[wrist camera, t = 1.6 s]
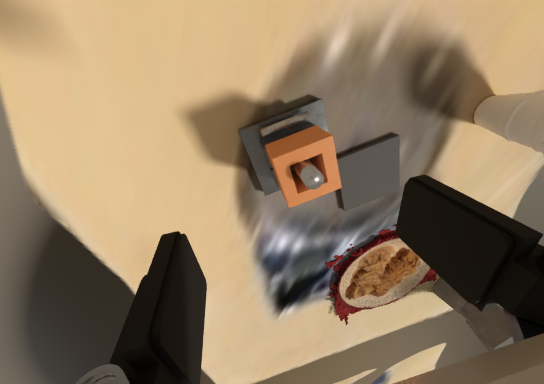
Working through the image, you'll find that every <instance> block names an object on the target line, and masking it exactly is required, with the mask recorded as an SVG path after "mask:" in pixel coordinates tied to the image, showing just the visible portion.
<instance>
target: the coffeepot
mask: <svg viewBox="0 0 544 384" xmlns="http://www.w3.org/2000/svg"><path fill="white" fill-rule="evenodd" d="M434 294H436V295H437V296H438V297H439V298H441V299H442V300H443V301H444V302H446V303H447V304H448V305H449V306H450V307H452V308H453V309H454V310H455V311H457V312H458V313H460V314H462V315H463V316H464V317H465V318H466V319H467V320H466V322H467V324H468V325H469V326H470V328H471V329H472V330H473V332H474V333H475V334H476V335H477V337H478V338H479V339H480V341H481V342H482V343H483V344H484V346H485V347H486V349H487V350H488V351H492V350H495V349H498V348H501V347H504V346H507V345H510V344H513V343H514V341H513V338H512V335H511V332H510V329H509V326H508V323H507V320H506V317H505V314H504V310H503V309H502V308H500V307H499V306H498V305H496V307H495V308H493V309H490V310H486V311H483V312H481V311H480V310H478V309H477V308H476V307H475V306H474V305H473V304H471V303H469V302H467V301H466V300H464V299H463V298H462V297H461V296H460V295H459V294H458V293H457V292H456V291H455V290H454V289H453V288H452V287H451V286H450V285H448V284H447V283H446V282H445V281H444V280H443V279H442V278H441V279H440V280H438V282H437V283H436V284H435V286H434Z"/></svg>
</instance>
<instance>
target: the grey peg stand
mask: <svg viewBox="0 0 544 384" xmlns="http://www.w3.org/2000/svg"><path fill="white" fill-rule="evenodd" d="M315 125H316V126H318V127H320V128H321V129H323V130H325V131H326V132H328V129H327V123H326V118H325V113H324V107H323V102H322V99H320V98H317V99H315V100H312V101H310V102H307V103H305V104H302V105H299V106H297V107H294V108H292V109H289V110H287V111H284V112H282V113H279V114H276V115H274V116H271V117H269V118H266V119H264V120H261V121H259V122H256V123H253V124H251V125H248V126H246V127H243V128H241V129H238V131H239V134H240V136H241V139H242V141H243V143H244V146H245V148H246V151H247V153H248V155H249V158H250V160H251V163H252V165H253V168H254V170H255V172H256V175H257V177H258V180H259V182H260V184H261V187H262V189H263V192H264V194H265V196H266V195H268V194H271V193H273V192H276V191H279V190H281V189H280V186H279V184H278V181H277V178H276V175H275V173H274V170H273V167H272V164H271V161H270V159H269V156H268V153H267V150H266V148H265V145H267V144H269V143H272V142H274V141H277V140H279V139H282V138H284V137H287V136H290V135H292V134H295V133H297V132H300V131H302V130H305V129H307V128H310V127H313V126H315ZM289 167H290V170H291V174H292V175H293V174H296V173H297V174H298V175H299V177H300V178H301V180H302V181H303V182H304V184H305V185H306V187H307V188H309V189H317V188H319V187H320V186H321V185H322V184H323V182H324V176H323V174H322V173H321V172H320V171H319V170H318V169H317V168H316V167H315V166H314V165H313V161H312V157H311V158H309V159H306V160H304V161H301V162H298V163H296V164H293V165H291V166H289Z"/></svg>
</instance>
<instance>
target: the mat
mask: <svg viewBox="0 0 544 384" xmlns="http://www.w3.org/2000/svg"><path fill="white" fill-rule="evenodd" d="M336 158H337V163H338V169H339V175H340V180H341V186H342V188H340V189H339V191H340V197H341V202H342V208H343V210H344V211H347V210H350V209H352V208H355V207H357V206H360V205H362V204H365V203H367V202H370V201H372V200H375V199H378V198H380V197H383V196H385V195H388V194H390V193H393V192H395V191H398V190H399V135H397V134H394V135H392V136H389V137H387V138H384V139H382V140H379V141H376V142H374V143H371V144H369V145H366V146H364V147H361V148H359V149H356V150H353V151H351V152H348V153H346V154H343V155H341V156H338V157H336Z"/></svg>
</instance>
